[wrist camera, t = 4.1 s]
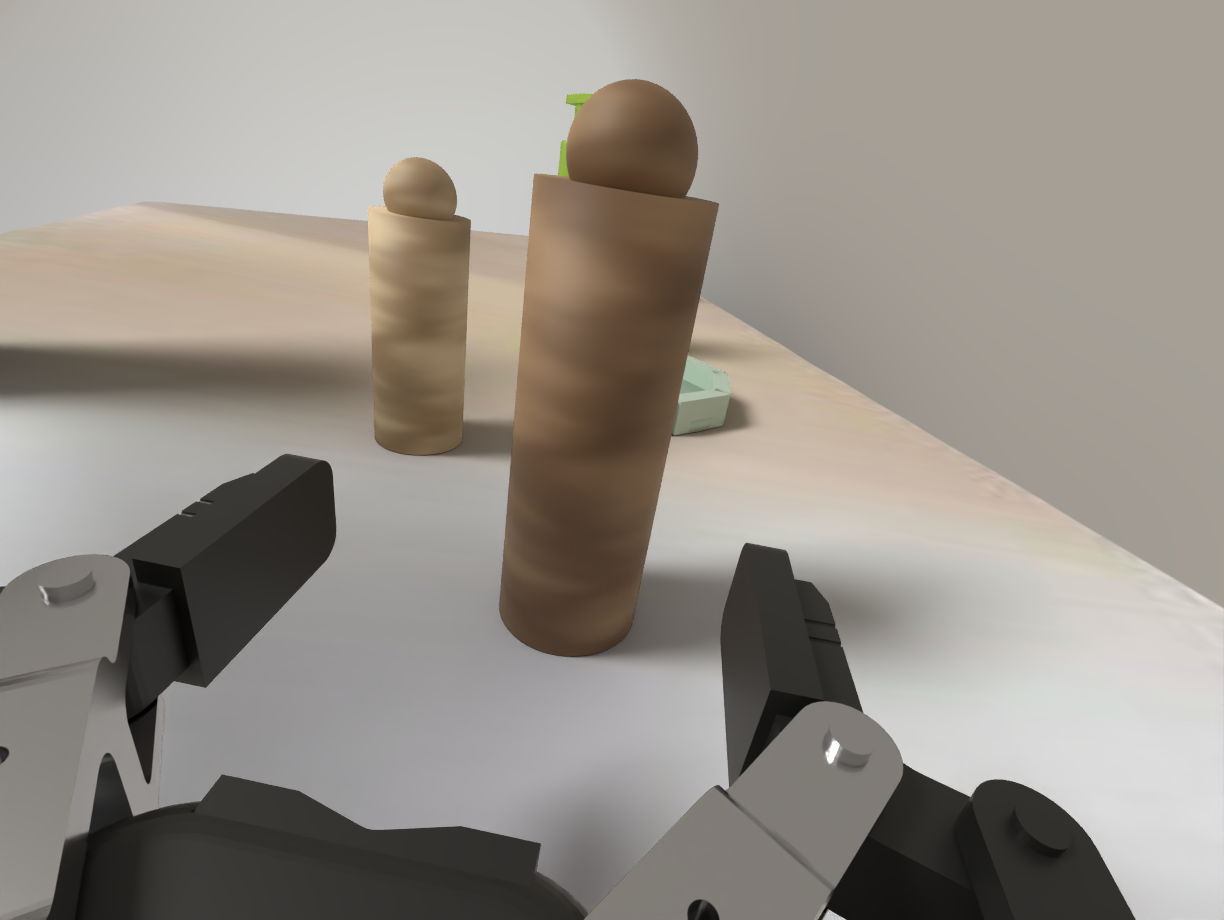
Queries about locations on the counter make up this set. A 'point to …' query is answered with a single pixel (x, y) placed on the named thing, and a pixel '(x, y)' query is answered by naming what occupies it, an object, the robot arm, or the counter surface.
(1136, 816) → the counter surface
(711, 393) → the dish
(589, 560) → the pepper mill
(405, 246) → the salt mill
